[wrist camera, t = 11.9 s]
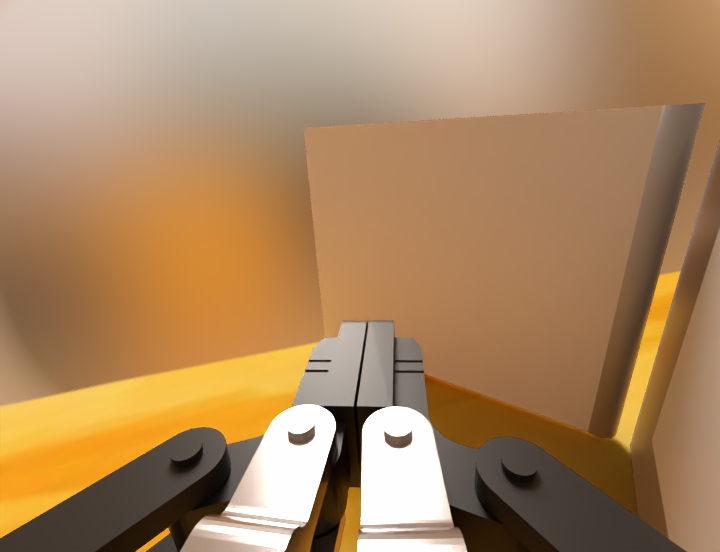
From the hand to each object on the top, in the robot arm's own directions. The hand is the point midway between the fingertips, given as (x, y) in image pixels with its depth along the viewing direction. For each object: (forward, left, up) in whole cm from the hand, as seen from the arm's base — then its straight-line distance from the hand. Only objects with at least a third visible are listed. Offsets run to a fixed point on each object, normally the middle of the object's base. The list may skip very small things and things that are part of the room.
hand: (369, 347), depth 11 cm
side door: (+1, -10, -7) cm, 12 cm away
